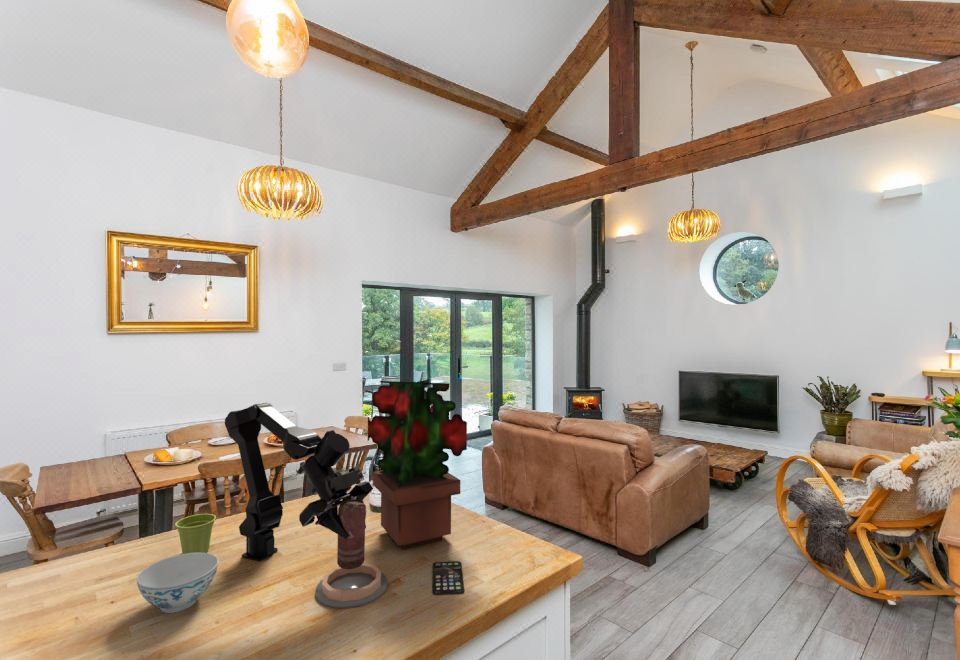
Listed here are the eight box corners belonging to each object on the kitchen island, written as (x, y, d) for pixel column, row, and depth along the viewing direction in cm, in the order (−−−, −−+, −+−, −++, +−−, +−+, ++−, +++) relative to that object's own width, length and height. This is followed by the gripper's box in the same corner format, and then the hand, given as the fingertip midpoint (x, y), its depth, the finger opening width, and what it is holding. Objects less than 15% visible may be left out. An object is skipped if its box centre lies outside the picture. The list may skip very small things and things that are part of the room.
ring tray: (300, 600, 104) (300, 588, 104) (343, 566, 119) (343, 556, 119) (362, 614, 99) (362, 602, 99) (399, 577, 114) (399, 566, 114)
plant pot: (166, 556, 124) (166, 524, 124) (199, 542, 133) (200, 511, 133) (191, 563, 120) (191, 529, 120) (223, 548, 129) (223, 516, 129)
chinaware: (157, 634, 92) (157, 595, 92) (123, 610, 100) (123, 573, 100) (231, 597, 105) (232, 563, 105) (196, 578, 113) (196, 546, 113)
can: (364, 568, 107) (365, 507, 107) (335, 570, 106) (336, 508, 106) (366, 556, 113) (367, 497, 113) (339, 557, 112) (340, 499, 112)
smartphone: (461, 561, 122) (464, 592, 107) (461, 563, 122) (464, 595, 107) (432, 562, 121) (432, 593, 106) (432, 564, 121) (432, 596, 106)
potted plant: (390, 561, 122) (391, 388, 122) (367, 529, 141) (368, 380, 142) (466, 542, 133) (467, 384, 133) (434, 515, 152) (435, 377, 152)
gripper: (308, 467, 103) (344, 529, 98) (368, 449, 119) (401, 500, 114) (284, 496, 107) (317, 557, 101) (344, 474, 123) (376, 526, 118)
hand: (356, 533), depth 108 cm, fingers closed on can, 5 cm apart
